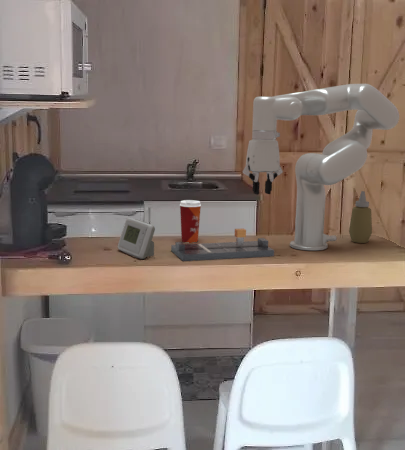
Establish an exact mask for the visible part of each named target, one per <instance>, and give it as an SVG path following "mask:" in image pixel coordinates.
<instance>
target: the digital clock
mask: <svg viewBox="0 0 405 450" xmlns="http://www.w3.org/2000/svg"><path fill="white" fill-rule="evenodd" d="M155 231H156V227H155V225H153V224H150V223H148V222H146V221H144V220H143V221H142V220H140V219H137V218H132V217H127V218H126V220H125V222H124V225H123V228H122V231H121V233H120V237H119V240H118V244H117V248H118V250H119V251H121V252H123V254H124V253H125V254H127V255H129V256H131V257H134V258H136V259H140V260H144V259H146V257H153V256H155V241H153V237H154V234H155Z"/></svg>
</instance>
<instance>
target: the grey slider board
mask: <svg viewBox="0 0 405 450" xmlns="http://www.w3.org/2000/svg"><path fill="white" fill-rule="evenodd" d="M170 247H171V251H170V252H172V253H173V254H175V256H176V257H177V258H179V259H180V260H181V261H182V262H192V261H193V260H195V261H211V260H228V259H245V258H247V259H248V258H264V257H265V258H268V257H269V258H270V257H274V256H275V249H273V248H271V247H270V246H269V240H268V239H266V238H264V237H260V238H257V240H246V241H245V240H244V246H237V245H236V241H228V242H227V241H226V242H210V243H209V242H207V243H205V242H204V243H203V242H202V243H184V242H182V241H176V242H175V244H171V246H170Z"/></svg>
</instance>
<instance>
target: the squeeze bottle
mask: <svg viewBox="0 0 405 450" xmlns="http://www.w3.org/2000/svg"><path fill="white" fill-rule="evenodd" d="M366 197H367V196H366V191H365V190H364V191H363V190H361V191H360V195H359V198H358V200H355V203H354V204H355V207H353V208H352V210H351V216H350V222H349V223H350V224H349V228H348V234H349V238H350V240H351V242H353V243H358V244H365V243H369V241H370V240H371V239H370V238H371V237H372V233H373V227H372V226H373V225H372V224H373V222H372V221H373V220H372V219H373V218H372V209H371V208H370V201H367V198H366Z"/></svg>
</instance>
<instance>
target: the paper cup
mask: <svg viewBox="0 0 405 450" xmlns="http://www.w3.org/2000/svg"><path fill="white" fill-rule="evenodd" d="M201 207H202V204H201V201H200V200H193V199H184V200H180V204H179V210H180V211H179V212H180V233H181V234H180V235H181V242H182V243H184V242H189V243H188V244H192V243H191V242H196V243H198V242H197V241H199V232H200V220H201Z"/></svg>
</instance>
